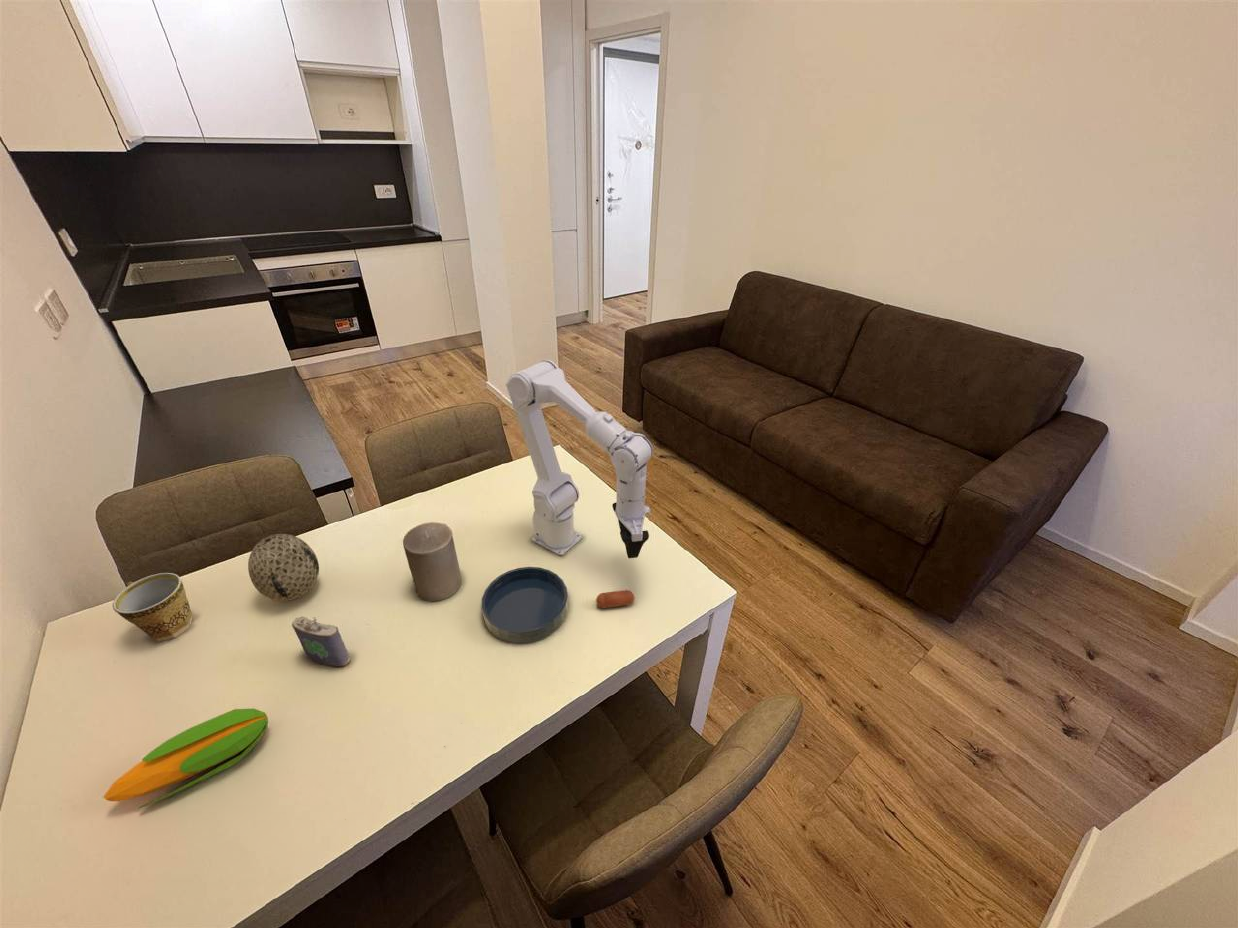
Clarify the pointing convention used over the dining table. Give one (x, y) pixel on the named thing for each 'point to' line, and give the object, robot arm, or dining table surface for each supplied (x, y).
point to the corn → (192, 754)
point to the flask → (321, 642)
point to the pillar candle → (432, 561)
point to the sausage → (615, 598)
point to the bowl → (525, 605)
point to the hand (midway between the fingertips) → (629, 544)
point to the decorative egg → (283, 567)
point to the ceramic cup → (156, 606)
